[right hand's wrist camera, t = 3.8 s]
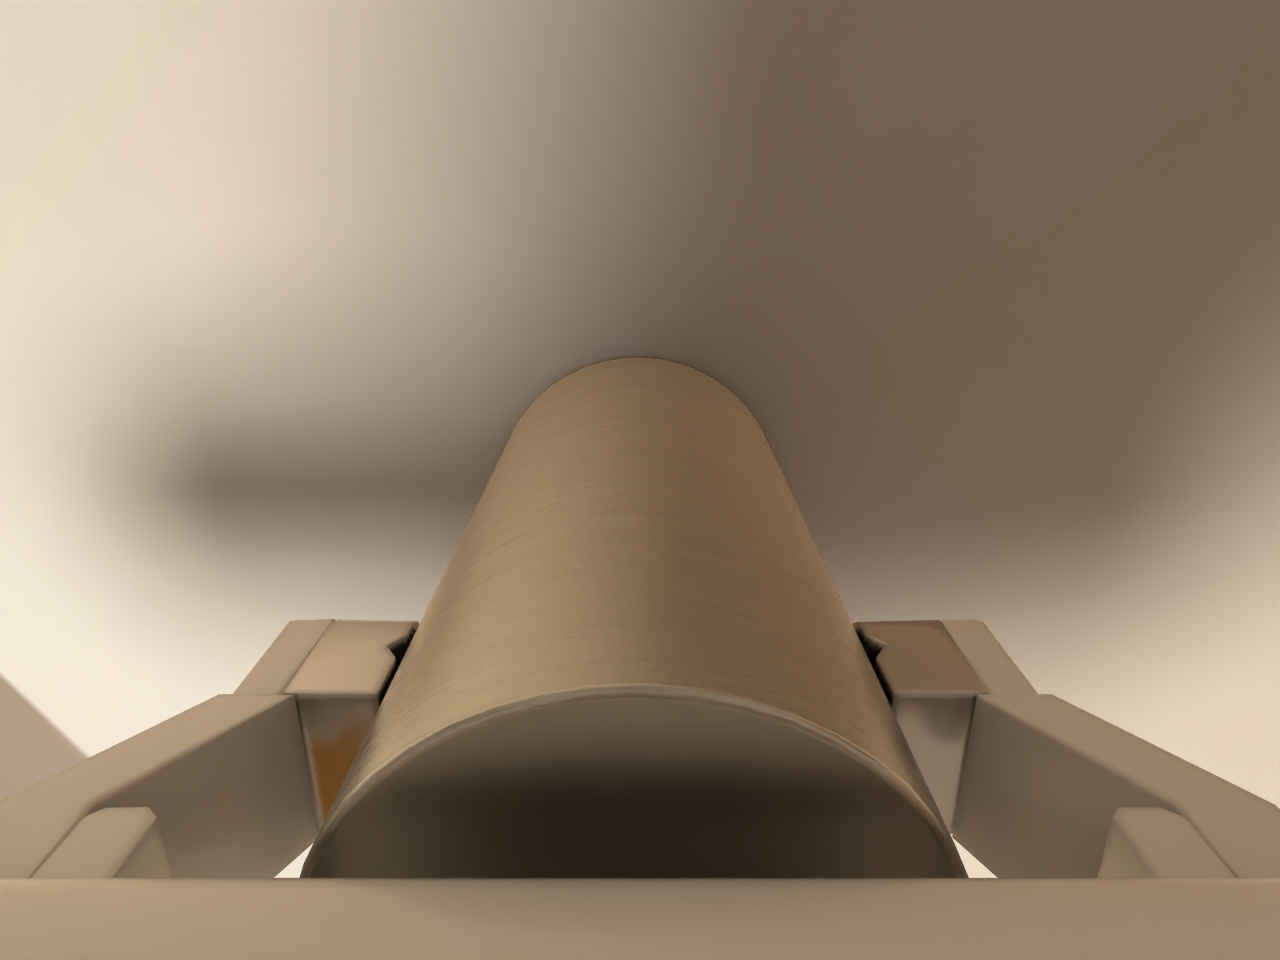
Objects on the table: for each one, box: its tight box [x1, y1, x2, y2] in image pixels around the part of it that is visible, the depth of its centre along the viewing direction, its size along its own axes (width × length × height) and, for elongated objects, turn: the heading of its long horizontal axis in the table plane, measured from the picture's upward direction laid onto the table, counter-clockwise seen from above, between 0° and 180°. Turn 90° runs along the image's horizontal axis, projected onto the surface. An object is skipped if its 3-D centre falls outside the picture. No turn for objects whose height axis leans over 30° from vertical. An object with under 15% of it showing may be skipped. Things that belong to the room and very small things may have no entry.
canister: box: [300, 357, 969, 878], centre depth 11 cm, size 5×5×10 cm
